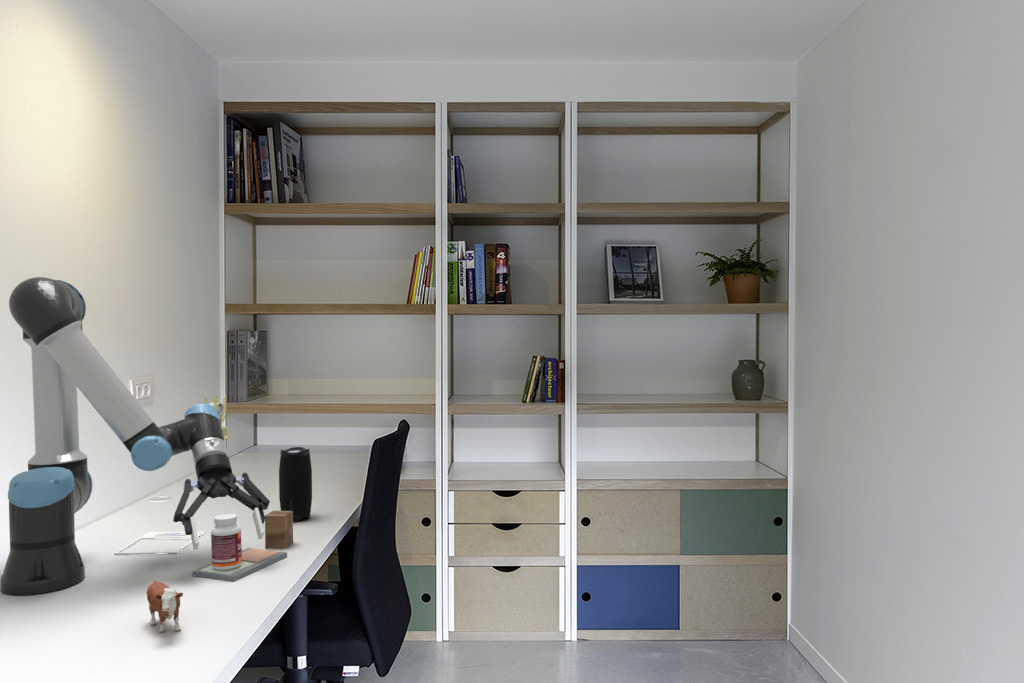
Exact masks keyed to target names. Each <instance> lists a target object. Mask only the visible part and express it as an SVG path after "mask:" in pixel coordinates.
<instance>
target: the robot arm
mask: <svg viewBox="0 0 1024 683" xmlns="http://www.w3.org/2000/svg"><path fill="white" fill-rule="evenodd" d="M9 296H10V297H9V300H8V308H9V312H10V314H11V316H12V318H13V320H14V321H15V322H16V323H17V325H18V326H19V327H20V328H21V330H22V341H23V342H24V343H26V344H27V345H29V347H30V348H31V351H30V352H31V369H32V370H31V372H32V374H31V375H32V377H31V378H32V399H33V400H32V401H33V403H32V404H33V423H34V425H33V426H34V452H35V453H34V455H32V457H31V458H29V459H28V461H27V471H22V472H20V473H18V474H16V475H14V476H13V477H12V478H11V479H10V481H9V484H8V490H7V499H8V516H9V518H8V520H9V522H8V523H9V524H8V525H9V526H8V527H9V553H8V556H7V560H6V562H5V566H4V568H3V573H2V575H1V576H0V591H1V592H2V593H4V594H7V595H14V596H16V595H17V596H22V595H23V596H25V595H28V596H29V595H37V594H38V595H39V594H44V593H49V592H53V591H57V590H62V589H66V588H68V587H71V586H73V585H74V586H75V585H77V584H79V582H82V581H83V580H85V578H86V569H85V568H86V567H85V563H84V562H83V560H82V556H81V554H80V551H79V549H78V547H77V544H76V537H75V536H76V534H75V533H76V532H75V531H76V530H75V526H76V524H75V514H76V513H77V512H79V511H80V510H81V509H82V508H83V507H84V506H85V505H86V504H87V503H88V501H89V499H90V498H91V494H92V491H93V484H94V483H93V478H92V476H91V474H90V472H89V470H88V469H89V468H88V455H87V454H85V453H84V452H83V451H81V449H80V438H79V437H80V435H79V411H78V410H79V407H78V406H79V405H78V404H79V403H78V390H79V392H81V393H82V395H83V396H84V397H85V399H86V400H87V401H88V403H90V405H91V406H92V407H93V408H94V410H95V411H96V412H97V413H98V415H99V416H100V417H101V419H103V420H104V422H105V423H106V424H107V426H109V428H110V429H111V430H112V432H113V433H114V434H115V435H116V436H117V438H118V439H119V440H120V441H121V443H122V444H123V445H124V447H125V448H126V449H127V451H128V452H129V453H130V457H131V461H132V463H133V465H134V466H135V467H136V468H138V469H139V470H142V471H143V472H144V471H145V472H153V471H157V470H159V469H162V468H163V467H164V466H166V465H167V464H168V462H170V460H171V458H172V457H173V456H176V455H179V454H182V453H185V452H189V451H191V454H192V459H193V464H194V466H195V467H194V470H195V474H196V479H197V480H196V481H195V480H191V479H189V478H187V479H185V480H184V483H183V492H182V495H181V497H180V499H179V502H178V504H177V506H176V509H175V511H174V515H173V518H172V519H173V520H172V521H173V522H174V523H179V522H181V524H182V525H183V528H184V532H185V534H186V535H191V539H190V540H192V543H191V545H192V549H193V551H196V550H198V549H199V545H200V540H199V539H200V538H198V533H197V531H198V530H197V525H196V519H195V516H194V515H195V514H196V513H197V511H198V510H199V508H201V507H202V504H203V503H205V501H206V500H207V499H208V498H211V499H216V498H225V497H227V496H228V497H230V498H231V499H235V500H237V501H238V502H239V503H240V504H243V506H245V507H247V508H249V509H250V510H252V511H253V512H252V519H253V522H254V526H255V530H256V534H257V538H258V540H263V538H264V537H263V536H265V528H264V526H263V524H264V525H265V513H264V510H268V507H269V505H270V503H271V501H270V499H269V498H267V497H266V495H265V494H264V493H263V492H262V491H261V490H260V489H259V488H258V486H256V485H255V484H254V483H253V482H252V480H251V479H250V477H249V474H248V473H247V472H243V473H242V474H241V475H238V476H235V475H234V474H233V470H232V465H231V461H230V458H229V452H228V449H227V445H226V441H225V440H224V436H223V432H222V427H221V422H220V420H219V416H218V413H217V410H216V409H215V408H214V407H213V406H212V405H209V404H210V403H208V404H204V403H197V404H193V405H192V406H191V407H190V408H188V409H186V411H185V412H184V417H183V418H184V419H180V420H176V421H175V422H172V423H168V424H164V425H161V426H158V425H157V424H156V423H155V421H154V420H153V419H152V418H151V416H150V415H149V414H148V412H147V411H146V410H145V409H144V407H143V406H142V405H141V403H140V402H139V400H137V399H136V397H135V396H134V395H133V393H132V392H131V391H130V390H129V389H128V387H127V386H126V385H125V383H124V382H123V381H122V380H121V378H120V377H119V376H118V375H117V374H116V372H115V371H114V369H113V368H112V367H111V366H110V364H109V363H108V362H107V361H106V360H105V358H104V357H103V355H102V354H101V353H100V352H99V351H98V349H97V348H96V346H94V344H93V343H92V341H90V339H89V338H88V336H87V335H86V334H85V333H84V331H83V320H84V318H85V315H86V311H87V304H86V300H85V298H84V296H83V293H81V292H80V291H79V289H78V288H76V287H75V286H74V285H72V284H71V283H69V282H66V281H65V280H64V281H63V280H61V279H53V278H49V277H44V276H43V277H42V276H36V277H32V278H31V277H29V278H28V279H26V280H23V281H21V282H19V284H17V285H16V286H15V287H14V289H13V290H12V292H11V293H10V295H9ZM237 483H238V484H239V486H241V487H242V488H243V490H242V489H240V487H239V486H238V484H237ZM196 488H197V489H198V490H199V491H200V493H199V494H198V496H196V498H195V500H194V501H193V502H192V503H191V505H190V506H189V507H188V509H187V510H186V511H185V513H183V512H184V510H185V507H186V504H187V502H188V501H189V500H188V499H189V498H190V494H191V493H193V492H194V490H195V489H196ZM245 491H246V492H245Z"/></svg>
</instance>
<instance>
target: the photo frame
mask: <svg viewBox="0 0 1024 683" xmlns="http://www.w3.org/2000/svg"><path fill="white" fill-rule="evenodd" d="M197 532H201V534H202V533H204V532H205V533H206V531H202V530H201V531H198V530H197ZM201 534H198V536H200V535H201ZM182 537H191V536H189V535H186V534H185V531H152V532H151V531H149V532H148V531H147V532H146V533H145V534H143V535H141V536H140V537H139V538H137V539H135V540H134V541H132V542H130V543H128V544H127V545H125V546H124V547H122V548H120V549H119V550H117V551H115V552H114V553H113V555H114V556H130V555H129V554H155V553H177V552H178V551H180V550H181V549H182V548H183V547H185V546H186V545H187V544H188V543H187V542H186V543H185V544H183V545H182V546H181V547H179V548H178V549H177V550H174V551H173V550H172V551H171V550H169V551H167V550H166V551H165V550H164V551H162V550H161V551H126V550H128V549H129V548H131V547H133V546H134V545H136V544H137V543H136V542H138V541H139V540H141V539H155V538H182ZM141 541H142V540H141ZM139 542H140V541H139ZM139 542H138V543H139ZM188 542H189V543H190V540H189V541H188ZM135 543H136V544H135ZM133 544H134V545H133ZM132 545H133V546H132ZM130 546H131V547H130ZM127 548H128V549H127ZM125 549H126V550H125ZM124 550H125V551H124ZM122 551H123V552H122Z"/></svg>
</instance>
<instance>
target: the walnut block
mask: <svg viewBox="0 0 1024 683" xmlns="http://www.w3.org/2000/svg"><path fill="white" fill-rule="evenodd" d="M264 516H265V521H264V538H265V541H264V542H265V544H264V546H265V549H269V548H273V550H274V549H276V550H278V549H280V550H282V549H283V550H285V549H288V547H290V546H291V545H292V544H294V522H293V511H281V510H272V511H270V512H269V513H267V514H266V515H265V514H264Z"/></svg>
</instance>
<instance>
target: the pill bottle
mask: <svg viewBox="0 0 1024 683" xmlns="http://www.w3.org/2000/svg"><path fill="white" fill-rule="evenodd" d="M237 522H238V516H237V514H236V513H235V514H234V513H225V514H218V515H216V516H214V518H213V523H214V524H213V525H214V526H213V527H212V528H211V531H210V543H211V545H210V546H211V547H210V548H211V563H212V567H213V568H214V569H216V570H229V569H233V568H236V567H239V566H240V565H241V564H242V528H241V526H240V525H239V524H237Z"/></svg>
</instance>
